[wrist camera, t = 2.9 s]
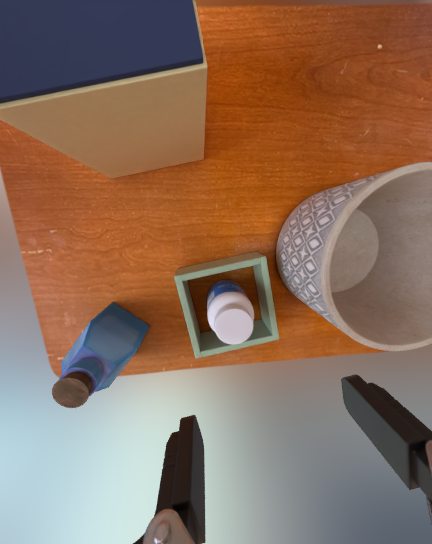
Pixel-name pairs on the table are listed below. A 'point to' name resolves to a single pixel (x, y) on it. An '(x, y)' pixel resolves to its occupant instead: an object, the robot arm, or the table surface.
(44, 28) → the pad
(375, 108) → the table surface
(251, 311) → the pill bottle
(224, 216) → the table surface
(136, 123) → the stand
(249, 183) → the table surface
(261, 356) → the table surface
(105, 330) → the perfume bottle
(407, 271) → the planter
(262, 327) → the green hollow square box
